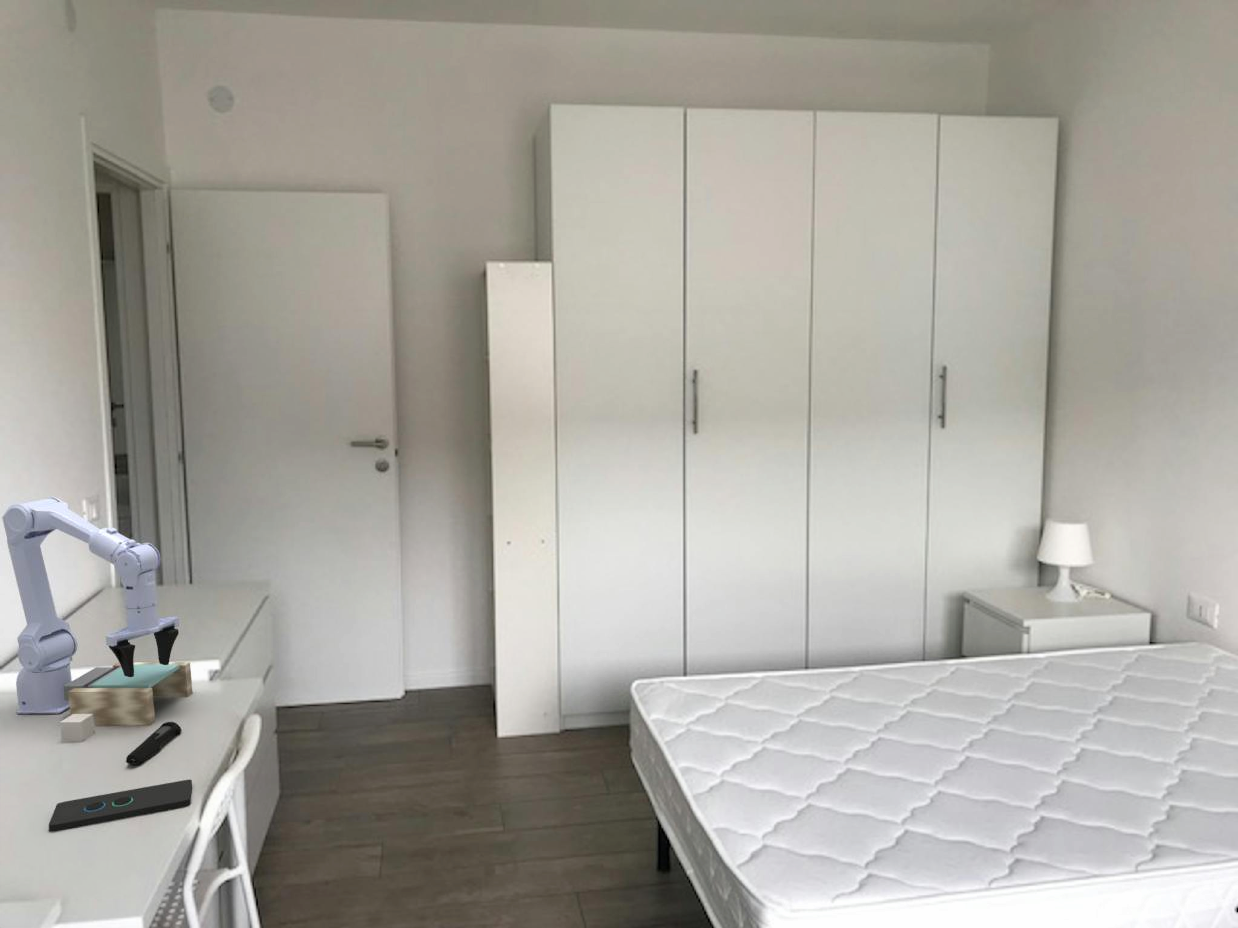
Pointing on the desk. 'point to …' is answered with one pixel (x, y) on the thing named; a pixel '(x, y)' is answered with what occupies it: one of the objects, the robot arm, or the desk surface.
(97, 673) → the trapdoor
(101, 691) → the rail stand
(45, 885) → the desk surface
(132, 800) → the smart home device
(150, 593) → the robot arm
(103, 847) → the desk surface
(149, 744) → the electric trimmer
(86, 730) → the gray cube
